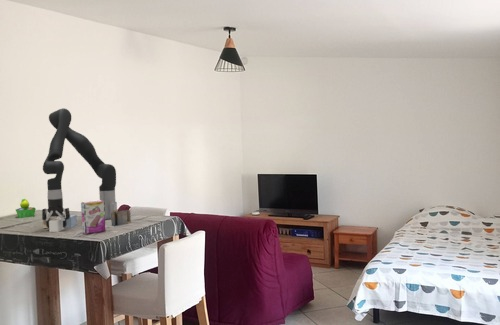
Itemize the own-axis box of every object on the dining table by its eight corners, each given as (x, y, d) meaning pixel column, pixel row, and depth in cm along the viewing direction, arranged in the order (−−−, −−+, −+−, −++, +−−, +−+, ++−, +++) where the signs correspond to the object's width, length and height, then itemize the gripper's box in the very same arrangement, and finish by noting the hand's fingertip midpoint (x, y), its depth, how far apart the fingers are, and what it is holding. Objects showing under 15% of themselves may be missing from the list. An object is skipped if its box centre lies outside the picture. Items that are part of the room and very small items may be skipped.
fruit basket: (16, 218, 311) (15, 200, 311) (15, 216, 319) (14, 199, 318) (36, 216, 317) (35, 199, 316) (34, 214, 325) (33, 197, 324)
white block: (63, 229, 273) (63, 218, 272) (57, 232, 265) (57, 221, 264) (55, 229, 273) (55, 218, 272) (49, 232, 265) (48, 221, 264)
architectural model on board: (115, 226, 277) (114, 209, 276) (111, 226, 279) (110, 209, 278) (131, 223, 286) (130, 206, 285) (128, 223, 287) (127, 206, 287)
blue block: (77, 225, 283) (76, 214, 283) (71, 227, 276) (70, 217, 275) (69, 225, 284) (68, 214, 283) (63, 228, 276) (63, 217, 275)
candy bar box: (85, 234, 255) (84, 203, 254) (81, 233, 259) (80, 202, 258) (106, 231, 263) (104, 200, 262) (102, 230, 266) (100, 199, 265)
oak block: (57, 225, 283) (56, 215, 283) (51, 228, 275) (50, 217, 275) (49, 226, 283) (49, 215, 283) (43, 228, 275) (42, 218, 275)
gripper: (70, 196, 271) (72, 225, 272) (45, 197, 272) (46, 226, 273) (65, 198, 264) (66, 228, 265) (39, 199, 264) (40, 229, 265)
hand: (56, 227), depth 269 cm, fingers open, 8 cm apart
